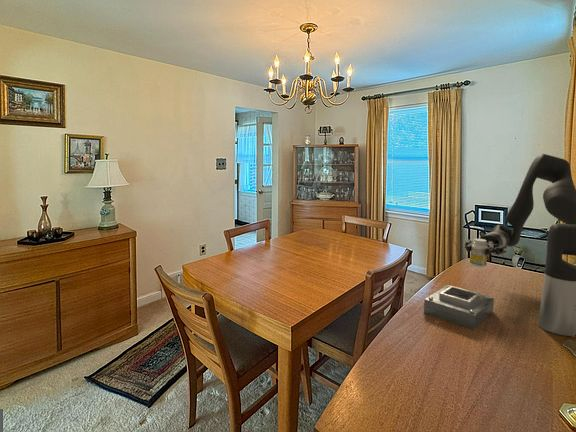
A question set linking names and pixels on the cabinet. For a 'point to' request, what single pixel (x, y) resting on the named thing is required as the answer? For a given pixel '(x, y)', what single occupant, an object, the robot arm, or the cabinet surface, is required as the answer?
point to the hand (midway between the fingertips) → (476, 250)
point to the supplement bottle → (478, 253)
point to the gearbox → (459, 306)
